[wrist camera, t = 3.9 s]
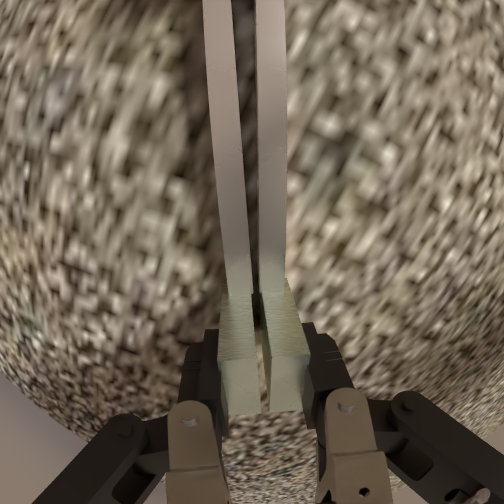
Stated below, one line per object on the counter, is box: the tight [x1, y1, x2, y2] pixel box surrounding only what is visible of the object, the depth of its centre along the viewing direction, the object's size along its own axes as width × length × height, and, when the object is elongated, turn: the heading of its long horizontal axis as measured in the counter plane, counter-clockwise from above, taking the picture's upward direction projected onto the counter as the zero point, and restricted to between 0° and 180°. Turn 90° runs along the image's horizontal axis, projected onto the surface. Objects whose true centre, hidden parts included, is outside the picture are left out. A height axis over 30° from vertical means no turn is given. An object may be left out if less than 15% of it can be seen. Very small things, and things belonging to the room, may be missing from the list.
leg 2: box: [254, 0, 311, 413], centre depth 8 cm, size 19×1×5 cm, turn 1°
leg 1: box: [203, 0, 262, 415], centre depth 8 cm, size 19×1×5 cm, turn 4°
